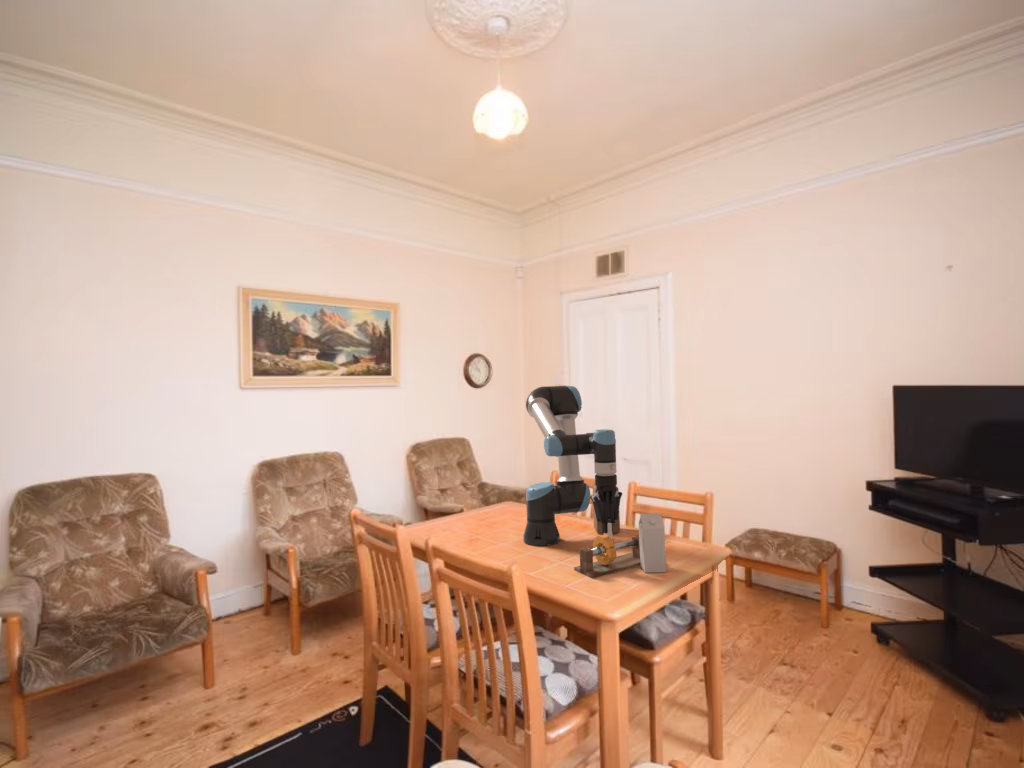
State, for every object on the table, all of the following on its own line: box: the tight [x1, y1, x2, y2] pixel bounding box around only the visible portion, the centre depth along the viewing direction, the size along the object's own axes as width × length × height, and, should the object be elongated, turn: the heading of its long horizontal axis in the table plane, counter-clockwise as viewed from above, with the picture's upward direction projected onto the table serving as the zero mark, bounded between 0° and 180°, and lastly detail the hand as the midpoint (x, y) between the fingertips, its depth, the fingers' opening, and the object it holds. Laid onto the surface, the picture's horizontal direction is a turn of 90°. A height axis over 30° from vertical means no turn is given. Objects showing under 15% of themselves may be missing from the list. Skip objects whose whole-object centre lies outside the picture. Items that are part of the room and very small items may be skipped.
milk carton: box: [638, 512, 667, 574], centre depth 175 cm, size 7×7×19 cm
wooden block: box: [592, 483, 621, 535], centre depth 225 cm, size 10×10×20 cm
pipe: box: [590, 539, 638, 557], centre depth 180 cm, size 3×24×3 cm, turn 121°
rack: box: [573, 535, 641, 579], centre depth 180 cm, size 10×27×8 cm, turn 120°
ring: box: [592, 534, 617, 565], centre depth 178 cm, size 9×2×9 cm, turn 30°
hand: (608, 541), depth 179 cm, fingers closed
